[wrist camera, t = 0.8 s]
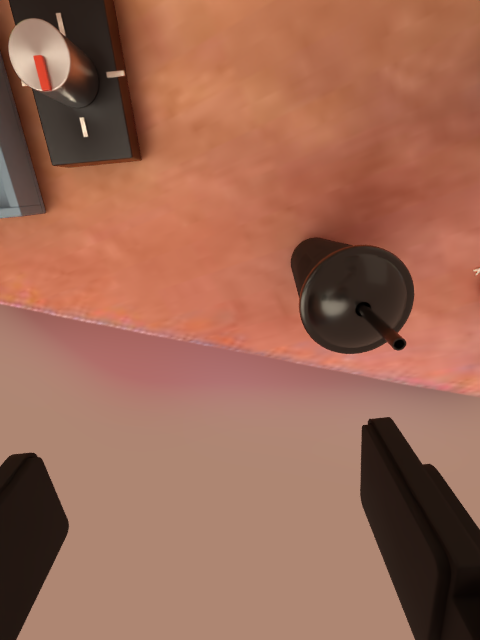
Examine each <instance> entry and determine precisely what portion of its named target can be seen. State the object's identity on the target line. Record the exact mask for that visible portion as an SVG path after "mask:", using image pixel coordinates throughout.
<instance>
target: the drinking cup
mask: <svg viewBox="0 0 480 640" xmlns="http://www.w3.org/2000/svg"><path fill="white" fill-rule="evenodd" d="M291 268H292V272H293V276H294V279H295V283H296V287H297V291H298V295H299V312H300V317H301V320H302V323H303V325H304V327H305V329H306V331H307V333H308V334H309V335H310V337H311V338H312V339H313V340H314V341H315V342H317V343H318V344H319V345H321V346H322V347H324V348H326V349H328V350H331V351H334V352H338V353H344V354H356V353H363V352H367V351H370V350H373V349H375V348H377V347H379V346H381V345H383V344H385V343H386V342H388V343H389V344H390V345H391V346H392V347H393V348H394V349H395V350H402V349H403V348H404V347H405V346H406V341H405V340H404V339H403V338H402V337H401V336H400V335H399V334H398V332H399V331H400V329H401V328H402V327H403V325H404V324H405V322H406V321H407V319H408V317H409V315H410V312H411V309H412V306H413V301H414V286H413V281H412V277H411V275H410V273H409V270H408V269H407V267H406V266H405V264H404V263H403V262H402V261H401V260H400V259H399V258H398V257H397V256H396V255H394V254H392V253H391V252H389V251H387V250H385V249H382V248H380V247H376V246H371V245H354V246H353V245H348V244H344V243H339V242H335V241H330V240H326V239H321V238H311V239H307V240H305V241H303V242H302V243H300V244H299V245H298V246H297V247H296V249H295V250H294V252H293V254H292V258H291Z"/></svg>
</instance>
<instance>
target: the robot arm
mask: <svg viewBox="0 0 480 640" xmlns="http://www.w3.org/2000/svg"><path fill="white" fill-rule="evenodd" d="M360 491H361V493H360V495H361V501H362V505H363V508H364V511H365V514H366V516H367V519H368V521H369V524H370V526H371V529H372V531H373V534H374V537H375V539H376V542H377V544H378V547H379V549H380V552H381V554H382V556H383V559H384V562H385V564H386V567H387V569H388V572H389V574H390V577H391V580H392V582H393V585H394V587H395V590H396V592H397V595H398V597H399V600H400V602H401V605H402V608H403V610H404V612H405V615H406V618H407V620H408V623H409V625H410V628H411V630H412V633H413V635H414V638H415V640H480V529H479V528H478V527H477V525H476V524H475V523H474V521H473V520H472V518H471V517H470V515H469V514H468V513H467V511H466V510H465V508H464V507H463V506H462V504H461V503H460V501H459V500H458V499H457V497H456V496H455V494H454V493H453V491H452V490H451V489H450V487H449V486H448V484H447V483H446V481H445V480H444V479H443V477H442V476H441V474H440V473H439V472H438V470H437V469H436V468H435V467H434V466H432V465H431V464H424V465H422V463H421V462H420V460H419V459H418V457H417V456H416V454H415V453H414V452H413V450H412V448H411V447H410V445H409V444H408V442H407V441H406V439H405V438H404V436H403V435H402V433H401V432H400V431H399V429H398V428H397V426H396V424H395V423H394V421H393V420H392V419H391V418H390V417H386V418H376V419H369V421H368V425H363V426H362V445H361V489H360ZM68 528H69V524H68V519H67V517H66V515H65V512H64V510H63V507H62V505H61V503H60V500H59V498H58V496H57V493H56V491H55V489H54V487H53V484H52V481H51V479H50V477H49V474H48V472H47V470H46V467H45V465H44V462H43V460H42V459H41V458H40V457H37V455H36V454H35V453H23V454H14V455H11V456H9V457H8V458H7V459H6V460H5V461H4V463H3V464H2V465H1V466H0V640H16V639H17V637H18V635H19V633H20V631H21V629H22V626H23V625H24V622H25V620H26V618H27V616H28V614H29V612H30V610H31V608H32V606H33V604H34V602H35V600H36V598H37V595H38V594H39V591H40V589H41V587H42V585H43V583H44V581H45V579H46V577H47V575H48V573H49V571H50V569H51V567H52V565H53V563H54V561H55V558H56V556H57V554H58V552H59V550H60V548H61V546H62V544H63V542H64V540H65V538H66V536H67V533H68Z"/></svg>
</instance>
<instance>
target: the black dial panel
mask: <svg viewBox="0 0 480 640" xmlns="http://www.w3.org/2000/svg"><path fill="white" fill-rule="evenodd" d="M9 3H10V7H11V10H12V14H13V18H14V22H15V26H16V25H17V24H18V23H19V22H21V21H23V20H25V19H30V18H36V19H41V20H44V21H46V22H48V23H50V24H51V25H53V26H54V27H55V28H56V29H57V30H59V31H60V32H61V33H62V34H63V35H64V36H65V37H66V38H68V39H69V40H70V41H71V42H72V43H73V44H74V45H76V46H77V47H78V48H79V49H80V50H81V51H82V52H83V53H85V54H86V55H87V56H88V57H89V58H90V60H91V61H92V62H93V64H94V66H95V68H96V71H97V74H98V80H99V85H98V91H97V94H96V96H95V98H94V100H93V101H92V102H91V103H90V104H88V105H86V106H84V107H80V108H75V107H70V106H68V105H65V104H63V103H61V102H59V101H57V100H55V99H53V98H51V97H49V96H47V95H45V94H42V93H40V92H38V91H36V90H34V89H32V90H33V94H34V98H35V101H36V105H37V109H38V113H39V117H40V120H41V124H42V128H43V132H44V136H45V139H46V143H47V147H48V151H49V154H50V158H51V162H52V165H53V166H60V167H79V166H89V165H100V164H110V163H120V162H131V161H141V155H140V149H139V143H138V138H137V132H136V126H135V121H134V115H133V109H132V104H131V98H130V92H129V87H128V81H127V75H126V69H125V64H124V58H123V52H122V47H121V41H120V35H119V30H118V24H117V18H116V13H115V7H114V1H113V0H9ZM21 83H22V86H23V87H25V86H28V85H26V84H25V83H24V82H23V81H21Z"/></svg>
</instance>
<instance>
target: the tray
mask: <svg viewBox="0 0 480 640" xmlns="http://www.w3.org/2000/svg"><path fill="white" fill-rule="evenodd" d="M42 213H46V211H45V207H44V204H43V200H42V197H41V193H40V189H39V186H38V182H37V179H36V175H35V172H34V168H33V165H32V161H31V158H30V154H29V151H28V147H27V144H26V140H25V136H24V133H23V129H22V126H21V122H20V119H19V115H18V112H17V108H16V105H15V101H14V98H13V94H12V91H11V87H10V84H9V80H8V76H7V73H6V69H5V66H4V62H3V59H2V55H1V52H0V218H9V217H19V216H27V215H35V214H42Z"/></svg>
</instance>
